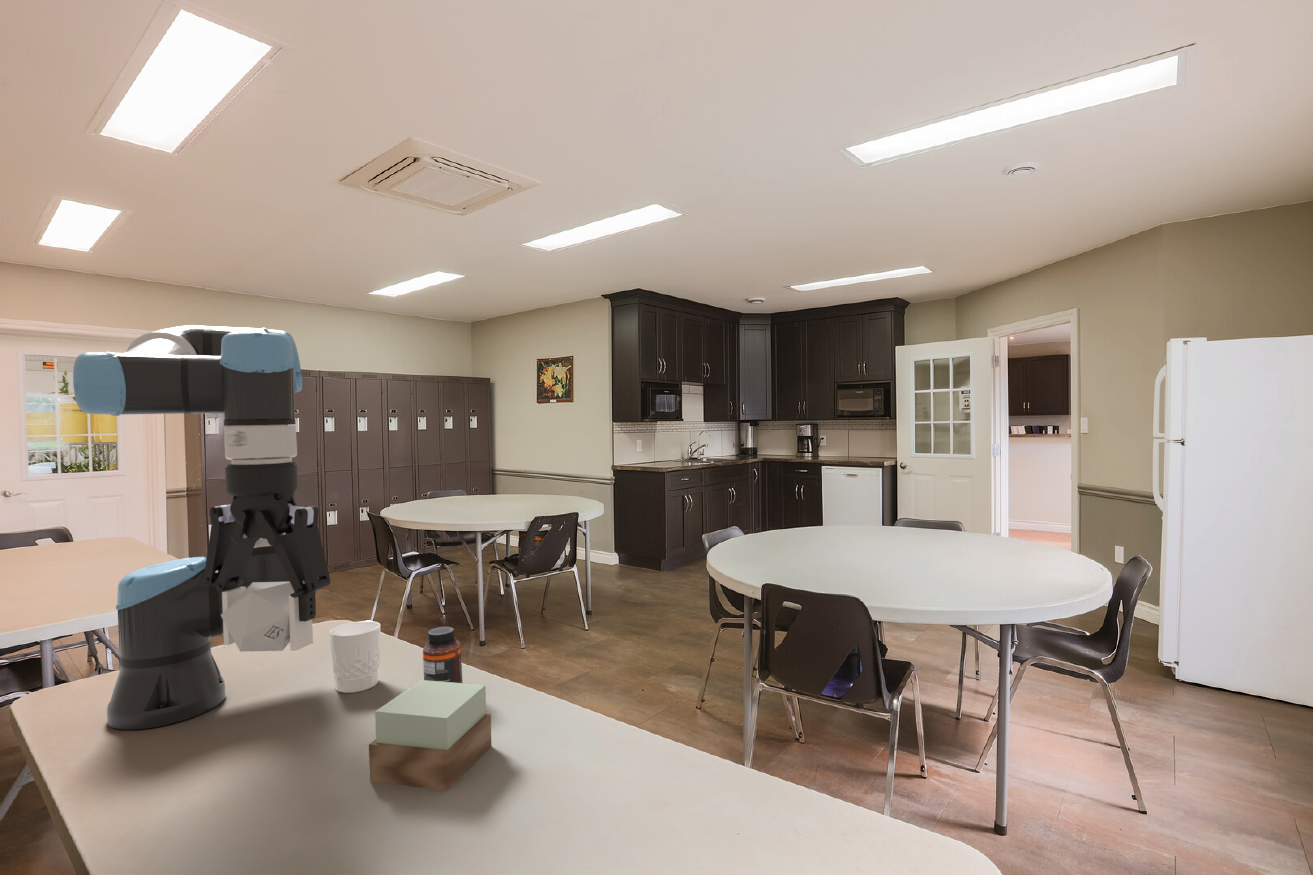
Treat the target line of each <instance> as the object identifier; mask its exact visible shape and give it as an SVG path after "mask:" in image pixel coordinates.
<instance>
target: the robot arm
mask: <svg viewBox="0 0 1313 875" xmlns="http://www.w3.org/2000/svg"><path fill="white" fill-rule="evenodd" d="M300 361H301V360H300V357H299V352H298V348H297V346H296V342H295V339H294V337H293V335H291V334H290V333H289V332H288V331H286V330H280V329H270V328H266V327H261V328H257V327H256V328H255V327H238V326H237V327H235V326H233V327H232V326H215V325H214V326H212V325H201V324H200V325H197V324H194V325H193V324H190V325H180V326H172V327H168V328H162V329H157V330H155V331H150V332H147V333H145V334H142V335H141V336H139V337H137V338H135V339H134V340H133V341H132V342H131V343H130V344H129V346H128V347H127V349H126V352H111V351H104V352H84V353H81V354H78V355H77V356H76V358H75V360H74V364H73V369H72V370H73V371H72V381H73V382H72V384H73V394H74V398H75V402H76V405H77V407H78V408H79V409H80V411H81V412H83V413H85V414H87V415H88V414H89V415H110V416H113V417H116V416H118V417H119V416H121V415H122V416H123V415H165V414H167V415H171V414H172V415H173V414H181V415H182V414H185V415H186V414H187V415H188V414H190V415H191V414H192V415H193V414H194V415H197V414H198V415H201V414H203V415H204V414H206V415H208V414H209V415H211V414H212V415H213V414H214V415H215V414H217V415H223V418H224V419H223V432H224V433H223V434H224V435H223V436H224V438H223V439H224V457H225V459H226V460H229V461H231V462H230V464H227V466H226V467H224V473H225V475H224V476H225V477H224V478H225V492H226V494H227V495H229V496H231V497H232V500H231V503H230V504H224V505H223V504H222V505H217V506H212V507H210V508H209V517H210V525H211V526H210V532H209V534H210V535H209V540H208V546H207V553H206V557H205V556H193V557H184V558H179V559H174V560H173V559H172V560H169V561H163V562H160V563H156V564H153V565H149V566H146V567H145V566H144V567H142V568H139V569H137V570H134V571H132V572H130V573H128V574H126V575H125V576H123V577H122V578H121V580H120V581H119V582H118V586H117V598H116V599H117V601H116V602H117V603H116V605H115V609H116V610H117V623H118V624H117V625H118V626H117V627H118V649H119V650H118V652H119V672H118V675H117V677H116V678H117V679H116V681H115V684H114V688H113V690H112V695H111V698H110V700H109V702H108V704H107V707H106V718H107V719H106V721H107V723H106V724H107V725H108V726H109V727H110V728H113V729H116V730H124V731H127V730H128V731H131V730H133V731H134V730H143V729H144V730H145V729H150V728H151V729H152V728H153V729H154V728H157V727H163V726H167V725H171V724H175V723H179V722H182V721H185V720H189V719H191V718H195V717H196V716H200V715H202V714H204V713H206V712H208V711H211V710H212V709H214V708H216V707H217V706H218V705H220V704H221V703H222V702H223V701H224V700H225V698H226V683H225V682H226V681H225V679H224V678H223V677H222V674H221V672H220V669H219V667H218V664H217V662H216V660H215V658H214V655H213V654H212V647H211V644H212V643H211V638H212V637H219V636H223V645H225V646H231V645H232V644H236V643H235V641H234V639H233V637H232V635H231V634H230V632H229V630H228V628H227V626H226V624H225V622H224V621H223V619H222V617H221V614H222V613H223V612H224V611H225V610H226V609H227V608H228V607H229V606H230V605H231V604H232V603H233V602H234V601H235V600H236V599H237V598H238V597H239V596H240V595H241V594H242V593H243V592H244V591H245V590H246V589H247V588H248V587H249V586H250V585H251V584H252V583H253V582H290V583H291V585H292V588H293V590H294V593H292V594H290V596H289V621H290V642H289V644H290V651H294V652H297V651H298V650H301V649H302V648H305V647H307V646H309V645H312V644H313V643H314V638H313V637H314V634H313V619H315V618H316V615H317V607H316V606H317V604H316V602H317V601H316V593H317V591H318V590H321V589H323V588H325V587H328V586H330V585H331V578H330V574H329V569H328V563H327V560H326V556H325V551H324V547H323V544H322V540H321V534H320V529H319V526H318V523H319V508H318V507H317V506H316V505H312V506H307V507H305V506H299V505H297V503H296V500H295V498H294V495H295V492H296V491H297V490H298V487H299V475H298V473H299V472H298V471H299V470H298V464H297V463H296V461H293V458H296V457H297V456H298V444H297V443H298V442H297V440H298V439H297V428H296V427H297V426H296V425H297V423H296V422H297V421H296V394H297V393H298V392H301V391H302V388H303V378H302V372H301V370H302V368H301V362H300Z"/></svg>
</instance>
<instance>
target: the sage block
mask: <svg viewBox="0 0 1313 875" xmlns="http://www.w3.org/2000/svg"><path fill="white" fill-rule="evenodd" d="M486 689H487V688H486V685H485V684H474V683H465V682H464V683H463V682H462V683H452V682H439V681H427V680H424V679H420V680H419V681H417V682H415V684H413V685H411V686H410V687H409V688H407V689H405V690H404V691H402V692H401V693H400V694H398V695H397V696H396V697H394V698H392V699H391V700H389V701H388V702H387V703H385V704H384V705H383V706H380V707H379V708H377V710H375V712H374V715H375V716H374V717H375V739H376V743H385V744H394V745H404V746H414V747H424V748H433V749H443V750H448V749H449V748H450V747H451V746H452V745H453V744H455V743H456V742H457V741H458V740H459V739H460V738H461V737H462V736H463V735H464V734H465V733H466V732H467V731H468V730H469V729H470V728H472V727H473V726H474V725H475V724H476V723H477V722H478V721H479V720H480V719H481V718H482V717H483V716H484V715H485V714H486V713H487V696H486V695H487V693H486V692H487V691H486Z"/></svg>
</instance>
